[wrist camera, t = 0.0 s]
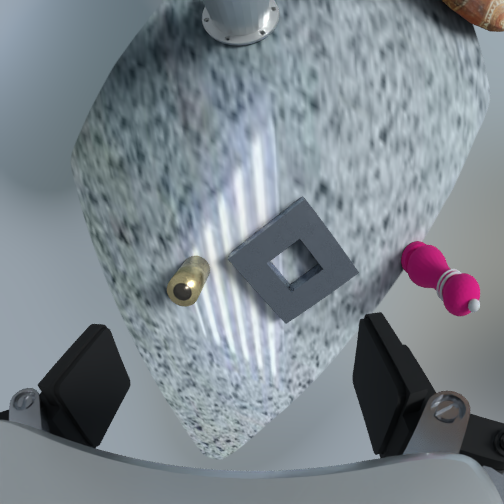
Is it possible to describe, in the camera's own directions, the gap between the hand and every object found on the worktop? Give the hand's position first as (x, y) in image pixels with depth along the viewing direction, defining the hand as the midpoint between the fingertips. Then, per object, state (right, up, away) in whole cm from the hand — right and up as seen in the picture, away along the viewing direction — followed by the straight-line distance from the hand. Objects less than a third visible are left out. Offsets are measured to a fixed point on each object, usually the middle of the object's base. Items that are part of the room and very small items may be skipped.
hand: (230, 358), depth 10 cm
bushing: (-9, +1, +39) cm, 40 cm away
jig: (+8, +2, +38) cm, 39 cm away
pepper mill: (+31, +3, +37) cm, 48 cm away
